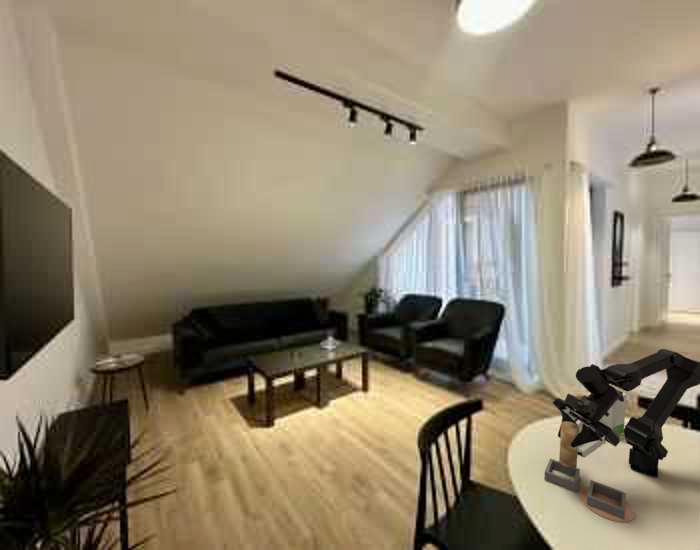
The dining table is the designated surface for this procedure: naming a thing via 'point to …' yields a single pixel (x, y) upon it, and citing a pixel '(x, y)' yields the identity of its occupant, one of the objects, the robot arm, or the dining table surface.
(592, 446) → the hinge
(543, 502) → the dining table surface
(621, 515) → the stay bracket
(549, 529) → the dining table surface
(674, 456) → the dining table surface
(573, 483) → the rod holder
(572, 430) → the rod
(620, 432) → the skincare box
